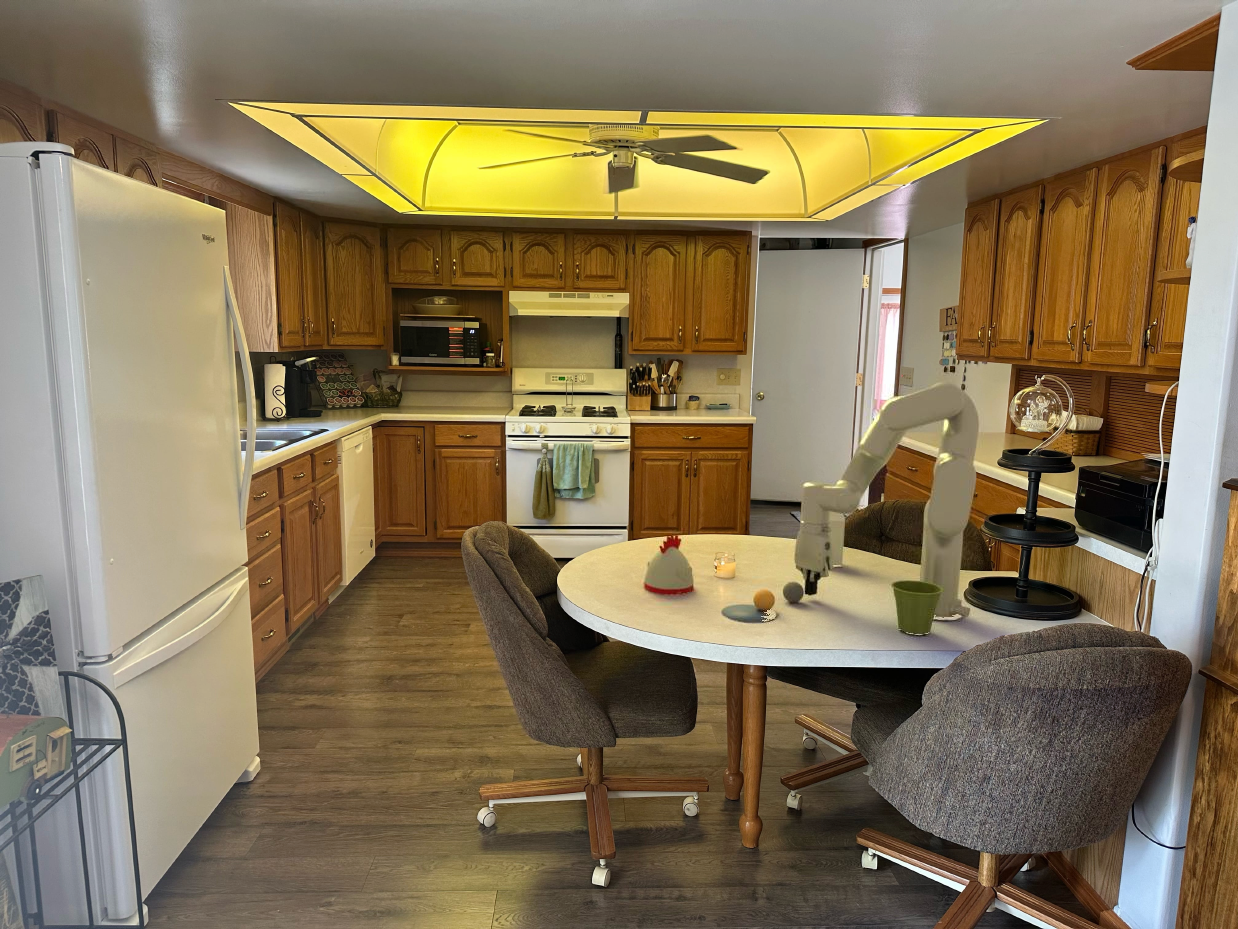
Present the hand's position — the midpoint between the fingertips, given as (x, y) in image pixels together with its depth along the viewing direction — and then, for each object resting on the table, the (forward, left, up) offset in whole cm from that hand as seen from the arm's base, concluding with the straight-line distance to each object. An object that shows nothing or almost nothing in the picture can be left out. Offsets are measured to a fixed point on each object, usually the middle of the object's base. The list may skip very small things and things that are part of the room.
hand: (810, 594), depth 226 cm
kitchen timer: (+29, +26, -2) cm, 39 cm away
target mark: (0, +23, -2) cm, 23 cm away
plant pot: (-31, -2, -2) cm, 31 cm away
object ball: (0, +18, +1) cm, 18 cm away
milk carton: (+22, -33, -2) cm, 40 cm away
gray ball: (+1, +6, +1) cm, 6 cm away
